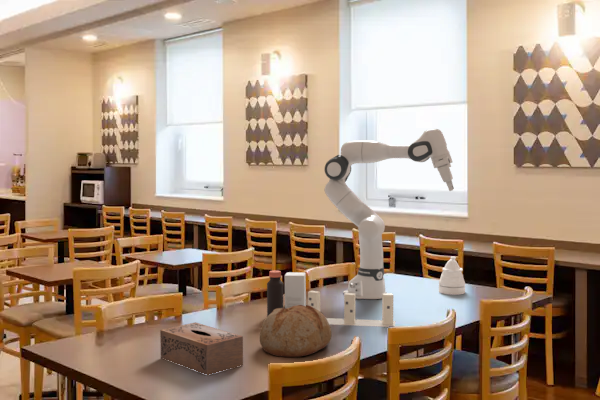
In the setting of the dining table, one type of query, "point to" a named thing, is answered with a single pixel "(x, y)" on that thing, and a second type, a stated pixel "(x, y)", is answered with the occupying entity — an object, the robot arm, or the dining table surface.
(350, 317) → the tile two
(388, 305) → the tile one
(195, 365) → the tissue box cover
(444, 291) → the honey pot
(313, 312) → the bread
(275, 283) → the bottle
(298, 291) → the supplement box
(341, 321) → the felt strip
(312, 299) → the tile three
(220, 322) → the dining table surface
